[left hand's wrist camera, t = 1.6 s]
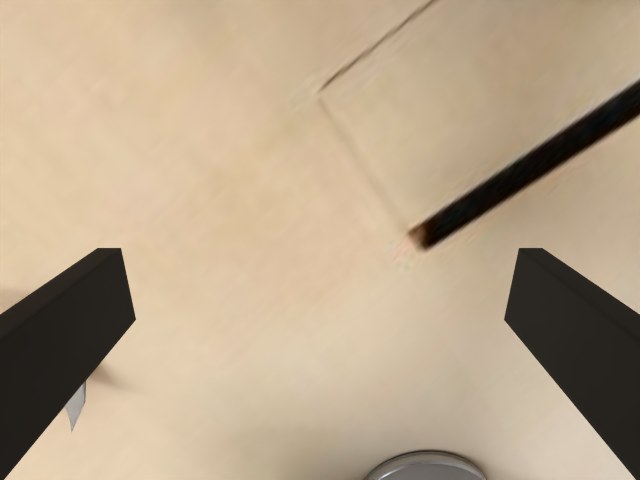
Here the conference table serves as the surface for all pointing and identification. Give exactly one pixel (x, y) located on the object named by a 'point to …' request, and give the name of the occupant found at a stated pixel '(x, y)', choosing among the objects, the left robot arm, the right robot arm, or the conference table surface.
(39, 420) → the left robot arm
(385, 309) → the conference table surface
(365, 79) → the conference table surface
